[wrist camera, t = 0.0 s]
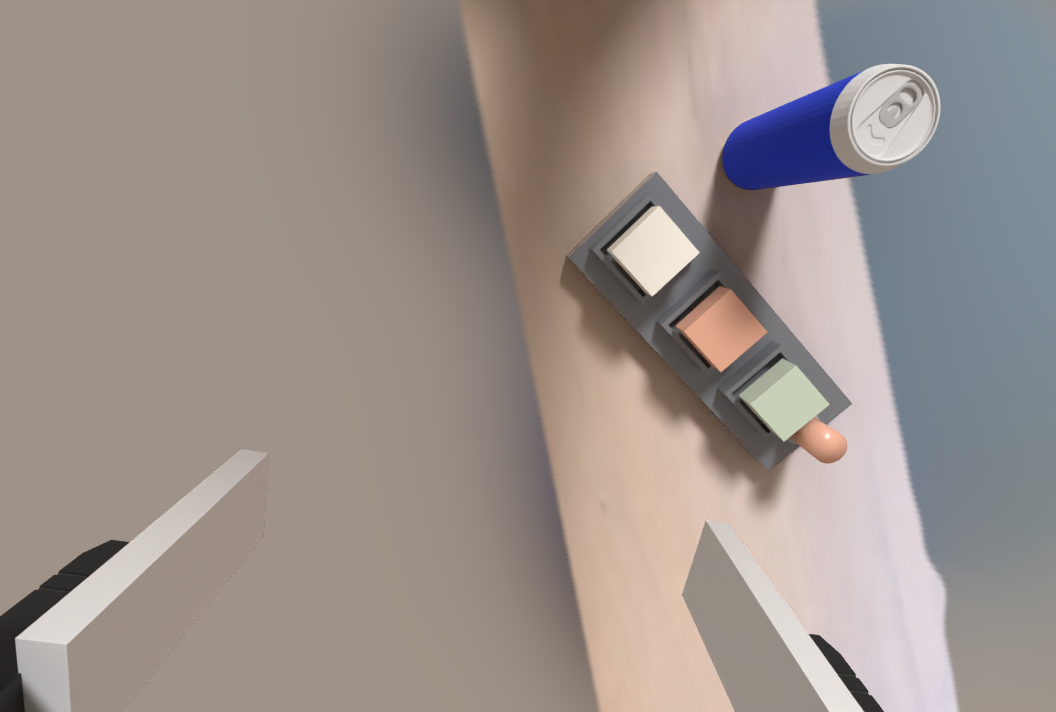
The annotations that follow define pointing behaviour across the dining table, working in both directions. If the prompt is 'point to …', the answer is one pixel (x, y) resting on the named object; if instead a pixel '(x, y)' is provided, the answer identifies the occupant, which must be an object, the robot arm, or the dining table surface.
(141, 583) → the robot arm
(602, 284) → the console
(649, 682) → the dining table surface
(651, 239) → the cream button
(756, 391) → the sage button
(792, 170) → the beverage can
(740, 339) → the terracotta button
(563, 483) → the dining table surface
